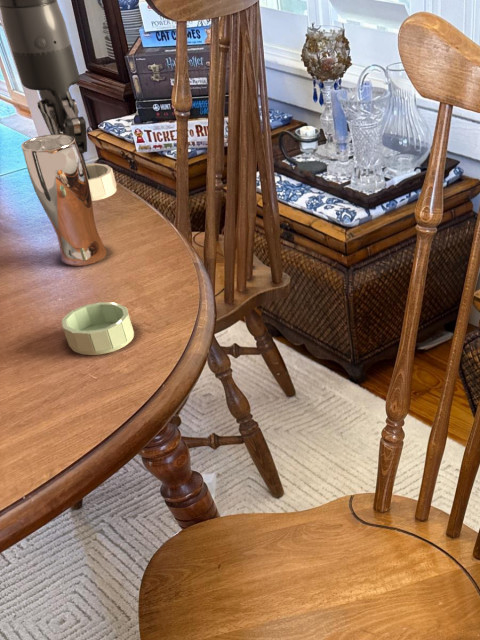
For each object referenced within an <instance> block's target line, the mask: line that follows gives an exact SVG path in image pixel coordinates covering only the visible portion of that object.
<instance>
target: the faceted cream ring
mask: <svg viewBox="0 0 480 640" xmlns="http://www.w3.org/2000/svg"><path fill="white" fill-rule="evenodd" d="M86 167H87V170H88V174H89V177H90V179H88V180H89V185H90V190H91V197H92V202H96V201H101V200H104V199H107V198H110V197H111V196H113V195H114V194H115V193H117V190H118V188H117V181H116V178H115V177H116V176H115V173H114V170H113V168H112V167H111V166H110V165H108V164H104V163H97V162H96V163H86Z"/></svg>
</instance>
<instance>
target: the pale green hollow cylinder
mask: <svg viewBox="0 0 480 640" xmlns="http://www.w3.org/2000/svg"><path fill="white" fill-rule="evenodd" d="M61 326H62V327H61V328H62V330H63V333H64V335H65V338H66V341H67V343H68V346H69V348H70V349H71V350H72V351H73V352H75V353H77V354H80V355H85V356H98V355H105V354H110V353H113V352H116V351H118V350H120V349H122V348H124V347H126V346H127V345H128V344H130V343H131V342H132V340H133V339H134V337H135V331H134V327H133V324H132V320H131V317H130V313H129V310H128V308H127V306H124V305H122V304H120V303H118V302H111V301H110V302H108V301H100V302H99V301H98V302H93V303H88V304H84V305H81V306H79V307H77V308H75V309H73V310H70V311H69V312H67V314H66V315H64V317H63V318H62V319H61Z"/></svg>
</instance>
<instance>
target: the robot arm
mask: <svg viewBox="0 0 480 640" xmlns="http://www.w3.org/2000/svg"><path fill="white" fill-rule="evenodd" d="M0 14H1V20H2V24H3V28H4V31H5V35H6V38H7V41H8V44H9V47H10V52H11V55H12V57H13V61H14V64H15V66H16V69H17V72H18V76H19V79H20V82H21V84H22V86H23V87H24V88H26V89H27V90H30V91H31V90H32V91H38V92H39V97H40V98H41V99H39V101H37V108H38V110H39V111H40V114H41V116H42V118H43V120H44V123H45V125H46V128H47V129H48V132H49V135H51V134H65V135H70V136H73V137H74V138H75V142H76V144H77V147H78V150H79V152H80V155H81V158H82V160H83V163H84V166H85V169H86V173H87V176H88V179H90V177H89V174H88V170H87V167H86V164H87V163H86V160H85V156H84V154H85V153H88V139H87V138H88V136H87V122H86V119H85V118H84V116H79V113H80V111H79V107H78V104H77V102H76V100H75V98H72V95H71V92H70V89H69V88H70V87H71V86H74V85H76V84H77V83H79V82H80V79H81V78H80V77H81V75H80V73H79V69H78V65H77V62H76V57H75V54H74V51H73V46H72V44H71V43H72V42H71V38H70V36H69V32H68V28H67V24H66V21H65V18H64V16H63V13H62V10H61V8H60V5H59V2H58V0H0Z"/></svg>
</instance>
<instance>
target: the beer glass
mask: <svg viewBox="0 0 480 640" xmlns="http://www.w3.org/2000/svg"><path fill="white" fill-rule="evenodd" d="M20 146H21V150H22V154H23V157H24V161H25V165H26V169H27V172H28V175H29V178H30V181H31V184H32V187H33V189H34V192H35V194H36V196H37V199H38V201H39V203H40V205H41V206H42V209H43V211H44V213H45V214H46V216H47V218H48V220H49V222H50V223H51V225H52V227H53V231H54V232H55V235H56V238H57V241H58V246H59V253H60V259H61V261H62V263H63V264H64V265H65V264H66V265H67V266H73V267H81V266H87V265H92V264H96V263H97V262H100V261H102V260H104V259H105V257H106V255H107V249H106V247H105V245H104V243H103V241H102V239H101V237H100V235H99V232H98V229H97V226H96V221H95V215H94V205H93V201H92V197H91V190H90V185H89V180H88V176H87V173H86V169H85V166H84V163H83V160H82V158H81V155H80V152H79V150H78V147H77V144H76V142H75V138H74V137H73V136H70V135H65V134H44V135H39V136H34V137H32V138H29V139H26V140H25V141H23V142H22V144H21V145H20Z"/></svg>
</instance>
